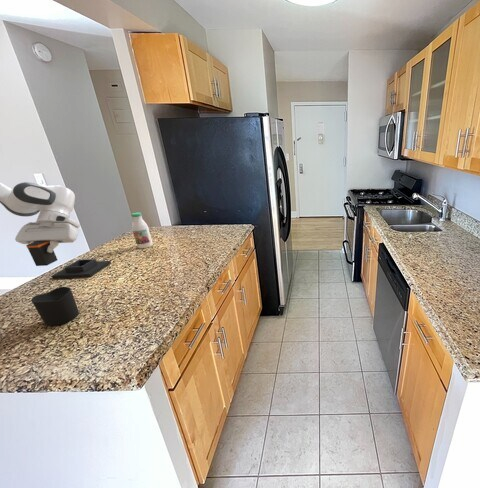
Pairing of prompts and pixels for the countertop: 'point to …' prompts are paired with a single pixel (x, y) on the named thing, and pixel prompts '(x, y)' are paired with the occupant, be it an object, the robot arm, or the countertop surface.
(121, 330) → the countertop surface
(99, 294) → the countertop surface
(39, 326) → the countertop surface
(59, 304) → the pen holder
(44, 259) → the black orange block
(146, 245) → the milk bottle
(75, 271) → the connector base
